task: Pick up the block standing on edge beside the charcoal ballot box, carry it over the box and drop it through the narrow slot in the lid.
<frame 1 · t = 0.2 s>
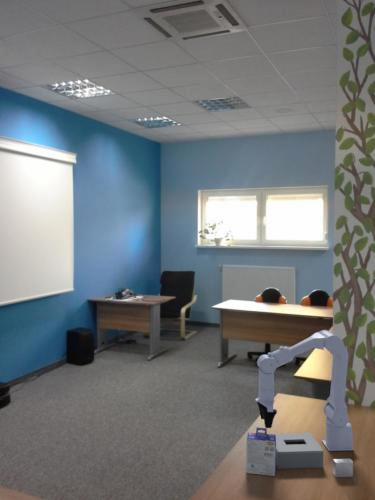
hand: (266, 423, 176), 10 cm above the table, tool pointing down, fingers open, 7 cm apart
block: (342, 475, 158), on the table
ink cartridge box: (261, 471, 161), on the table
ballot box: (294, 458, 169), on the table
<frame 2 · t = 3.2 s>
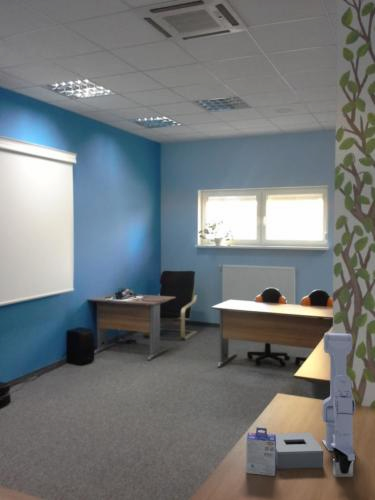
hand: (342, 470, 158), 1 cm above the table, tool pointing down, fingers closed on block, 2 cm apart
block: (342, 474, 158), on the table, touching gripper
everything else where it was.
when the fingers open (7 cm above the table, at t = 5.9 s): block drops 5 cm, resting in ballot box.
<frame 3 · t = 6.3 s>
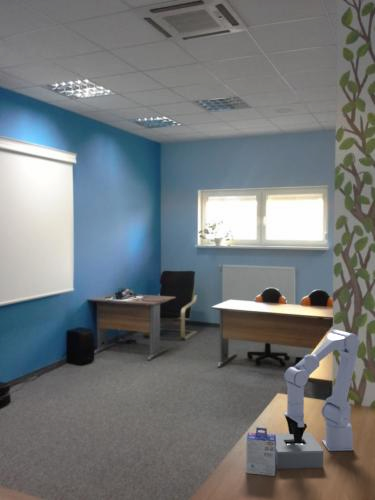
hand: (295, 438, 169), 7 cm above the table, tool pointing down, fingers open, 6 cm apart
block: (295, 458, 170), resting in ballot box
everything else where it was.
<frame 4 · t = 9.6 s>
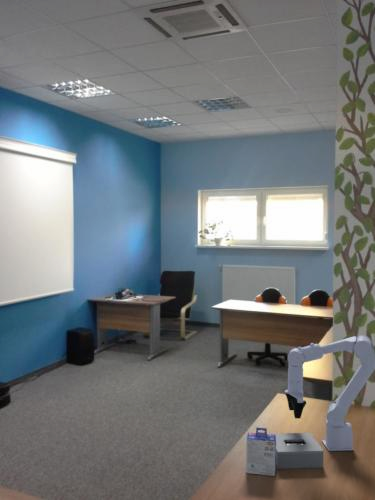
hand: (294, 413, 183), 10 cm above the table, tool pointing down, fingers open, 7 cm apart
nothing on the table moved.
at the end: block inside the target area on the ballot box (0.1 cm from its centre), point 0.0 cm above the ballot box's base; the gripper is holding nothing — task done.
